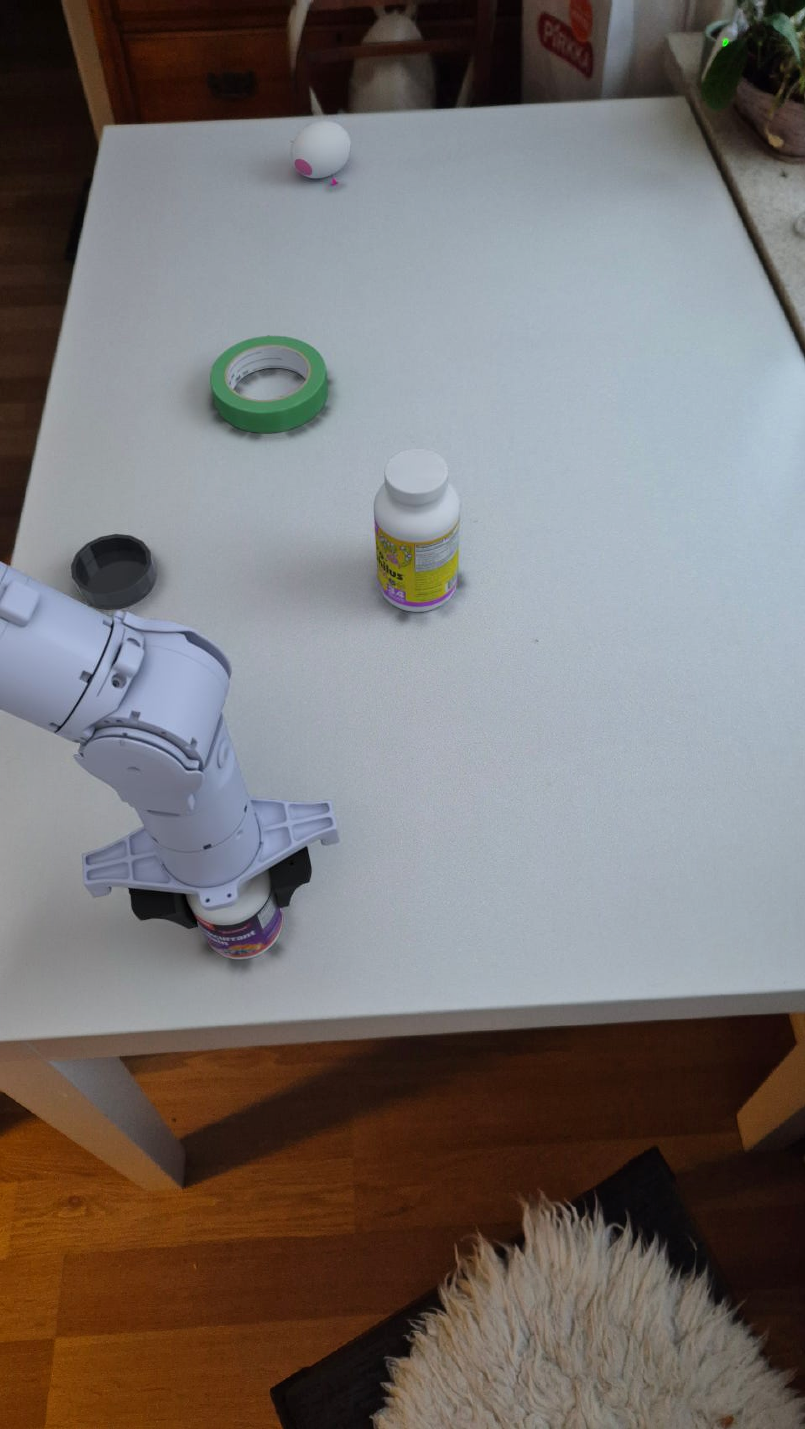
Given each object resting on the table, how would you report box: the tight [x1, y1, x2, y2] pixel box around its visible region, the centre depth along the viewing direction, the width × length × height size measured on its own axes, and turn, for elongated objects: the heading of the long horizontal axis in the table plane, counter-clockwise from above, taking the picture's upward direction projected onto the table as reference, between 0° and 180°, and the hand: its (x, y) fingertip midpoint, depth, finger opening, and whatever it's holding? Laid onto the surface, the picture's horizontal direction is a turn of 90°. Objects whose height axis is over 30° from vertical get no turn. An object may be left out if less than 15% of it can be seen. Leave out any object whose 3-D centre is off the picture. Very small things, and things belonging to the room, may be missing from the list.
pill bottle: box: [185, 868, 284, 960], centre depth 64 cm, size 5×5×10 cm
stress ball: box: [289, 120, 352, 186], centre depth 118 cm, size 8×8×7 cm
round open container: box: [70, 533, 157, 610], centre depth 85 cm, size 7×7×2 cm
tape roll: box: [209, 335, 329, 434], centre depth 97 cm, size 11×11×3 cm
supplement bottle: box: [373, 448, 461, 613], centre depth 79 cm, size 7×7×13 cm
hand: (236, 903), depth 65 cm, fingers closed on pill bottle, 5 cm apart
